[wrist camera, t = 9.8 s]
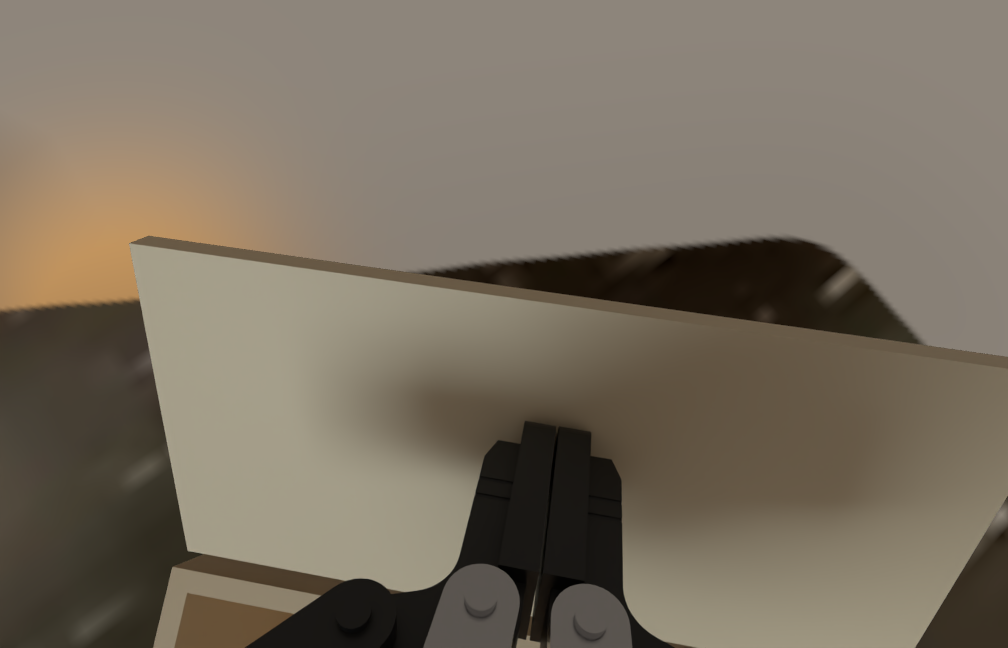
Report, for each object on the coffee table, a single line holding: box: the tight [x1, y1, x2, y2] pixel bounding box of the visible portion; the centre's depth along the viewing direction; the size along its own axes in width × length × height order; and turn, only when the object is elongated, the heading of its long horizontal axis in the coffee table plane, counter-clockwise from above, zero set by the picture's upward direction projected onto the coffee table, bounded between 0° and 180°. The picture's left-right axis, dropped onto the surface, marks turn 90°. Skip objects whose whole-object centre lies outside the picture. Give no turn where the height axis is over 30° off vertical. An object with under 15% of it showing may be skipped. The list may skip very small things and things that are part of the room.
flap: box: [129, 236, 1008, 648], centre depth 14 cm, size 19×9×1 cm
